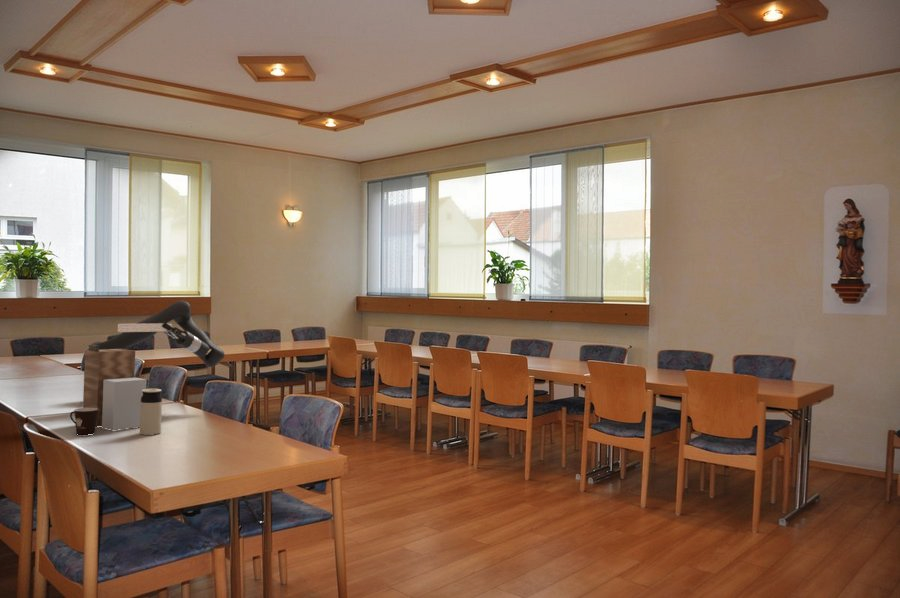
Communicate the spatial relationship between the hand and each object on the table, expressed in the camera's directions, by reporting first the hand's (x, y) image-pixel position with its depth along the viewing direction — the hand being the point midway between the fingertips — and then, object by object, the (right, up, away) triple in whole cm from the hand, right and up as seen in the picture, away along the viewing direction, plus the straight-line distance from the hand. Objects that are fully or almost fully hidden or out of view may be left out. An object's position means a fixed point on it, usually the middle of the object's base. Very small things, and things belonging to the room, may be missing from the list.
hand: (161, 324), depth 319 cm
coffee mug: (-14, -43, -41) cm, 61 cm away
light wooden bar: (-5, -3, -6) cm, 8 cm away
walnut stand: (-15, -43, -19) cm, 49 cm away
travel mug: (+11, -44, -36) cm, 58 cm away
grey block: (-5, -43, -26) cm, 51 cm away
